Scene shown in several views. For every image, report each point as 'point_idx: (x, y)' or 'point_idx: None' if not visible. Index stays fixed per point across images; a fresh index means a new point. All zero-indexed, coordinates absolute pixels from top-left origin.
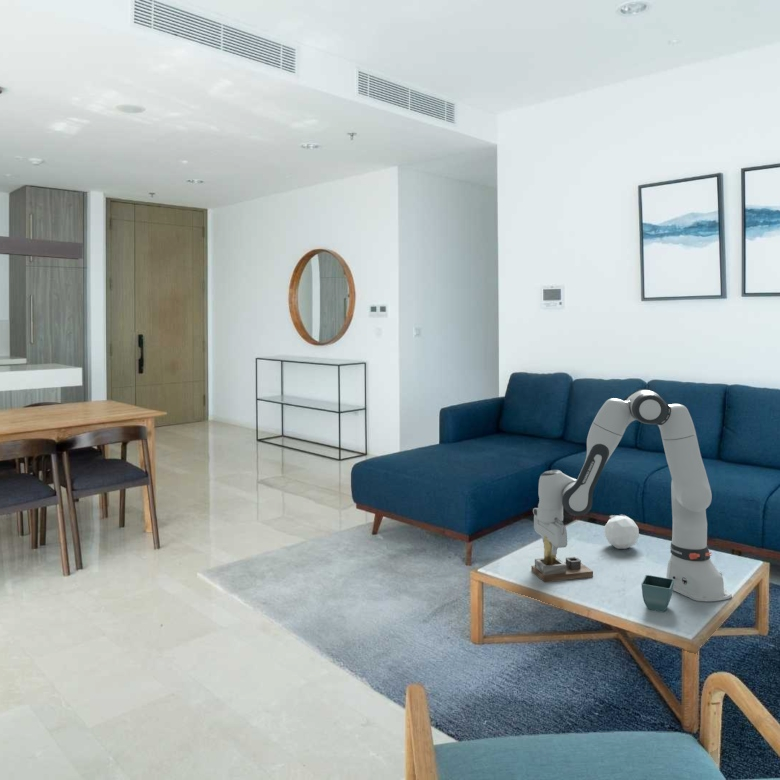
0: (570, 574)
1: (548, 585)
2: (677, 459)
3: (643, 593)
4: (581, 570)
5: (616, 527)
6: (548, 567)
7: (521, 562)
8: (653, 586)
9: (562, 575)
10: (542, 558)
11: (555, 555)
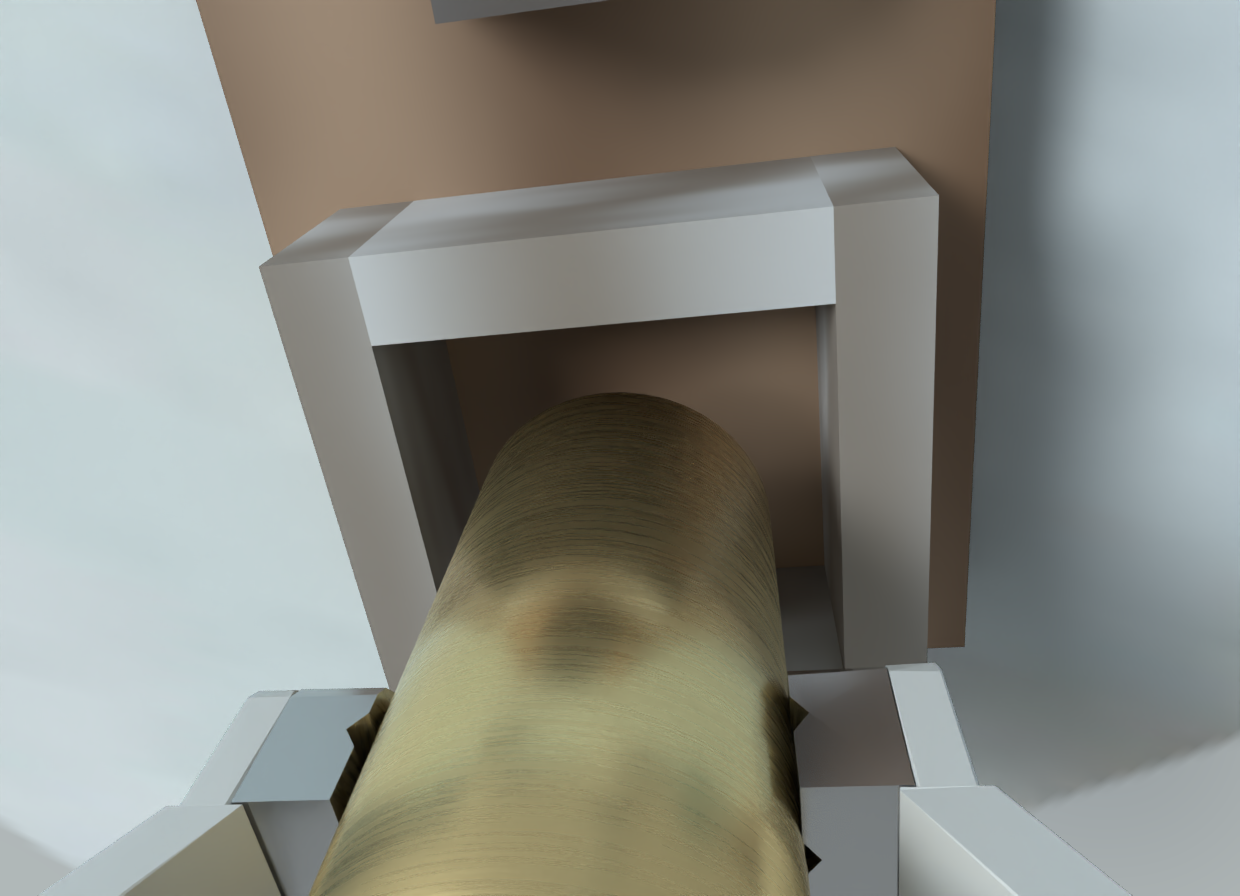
0: (987, 62)
1: (1106, 566)
2: None
3: None
4: None
5: None
6: (921, 647)
7: (41, 626)
8: None
9: (980, 277)
10: (385, 614)
11: (728, 558)
